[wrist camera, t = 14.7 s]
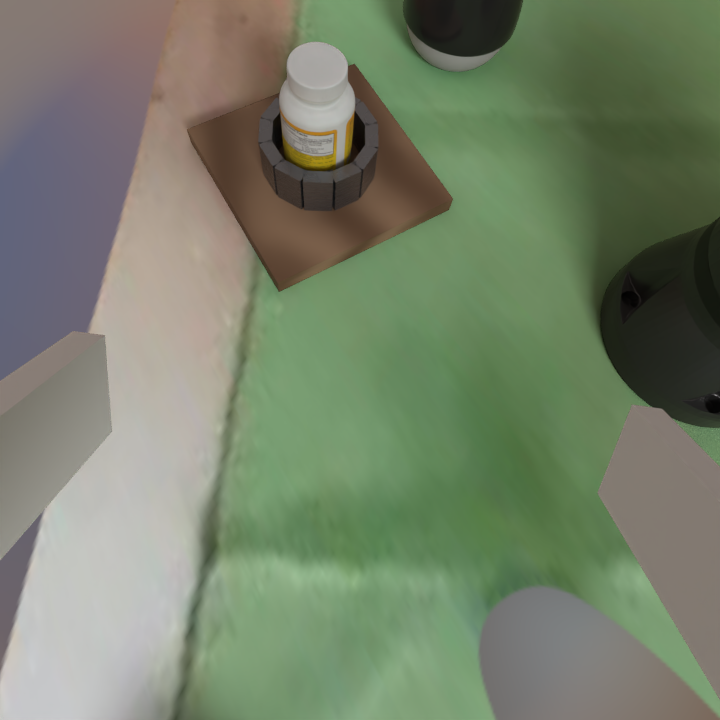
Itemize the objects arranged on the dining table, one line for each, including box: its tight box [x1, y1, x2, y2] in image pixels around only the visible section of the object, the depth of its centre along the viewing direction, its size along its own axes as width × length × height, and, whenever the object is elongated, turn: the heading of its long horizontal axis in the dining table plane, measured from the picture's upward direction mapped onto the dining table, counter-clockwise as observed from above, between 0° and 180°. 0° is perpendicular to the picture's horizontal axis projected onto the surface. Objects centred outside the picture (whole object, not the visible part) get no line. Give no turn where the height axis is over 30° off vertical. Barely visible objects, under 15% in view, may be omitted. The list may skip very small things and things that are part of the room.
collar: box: [258, 96, 378, 211], centre depth 42 cm, size 9×9×4 cm
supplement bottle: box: [279, 42, 355, 172], centre depth 39 cm, size 5×5×10 cm
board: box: [187, 64, 453, 292], centre depth 44 cm, size 16×16×2 cm
